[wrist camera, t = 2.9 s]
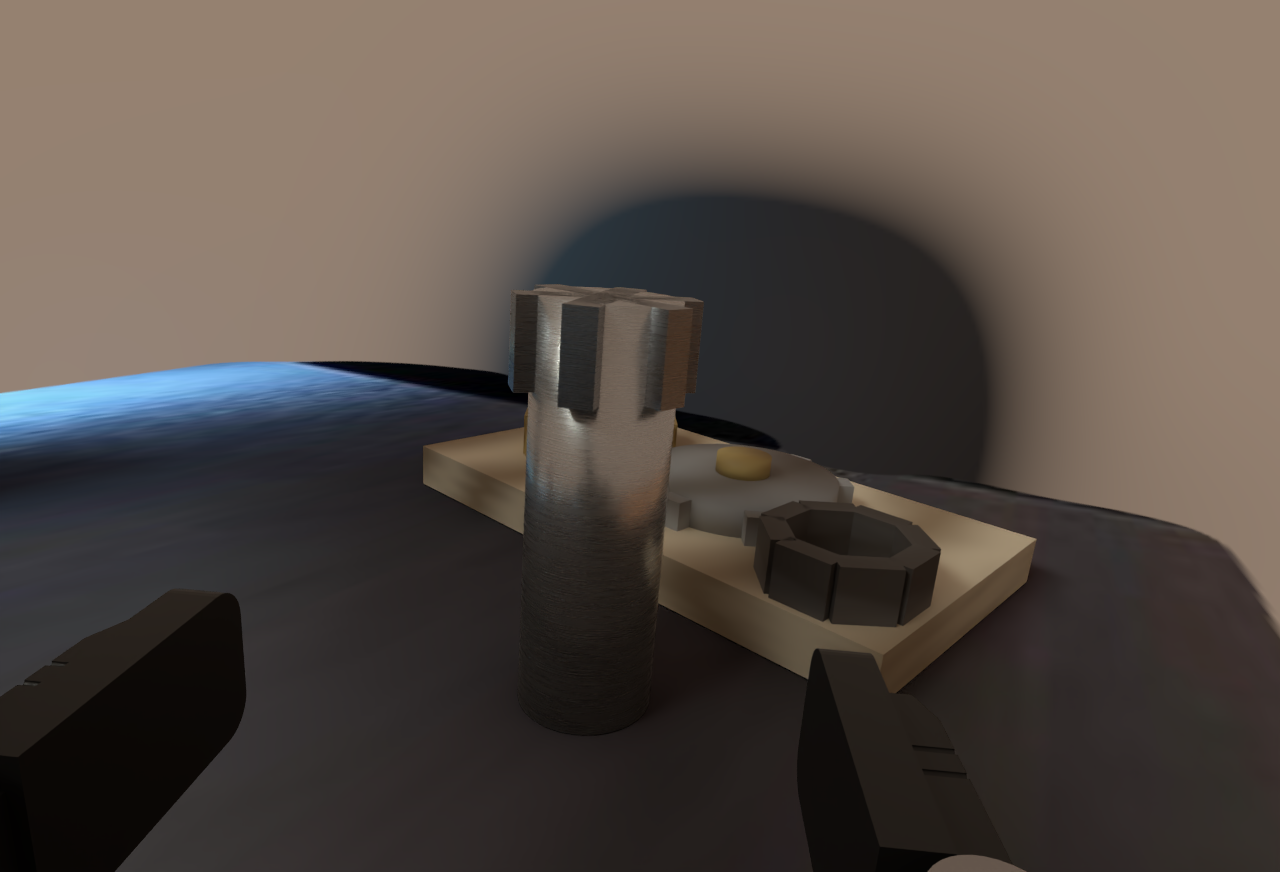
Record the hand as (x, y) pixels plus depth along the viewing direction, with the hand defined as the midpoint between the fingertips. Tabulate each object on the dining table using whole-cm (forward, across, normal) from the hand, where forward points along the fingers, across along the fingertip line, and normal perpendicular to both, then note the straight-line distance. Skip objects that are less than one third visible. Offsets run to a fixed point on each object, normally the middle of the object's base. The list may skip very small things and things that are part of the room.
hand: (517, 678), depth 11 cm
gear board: (+25, -4, +8) cm, 27 cm away
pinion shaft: (+12, 0, +8) cm, 14 cm away
